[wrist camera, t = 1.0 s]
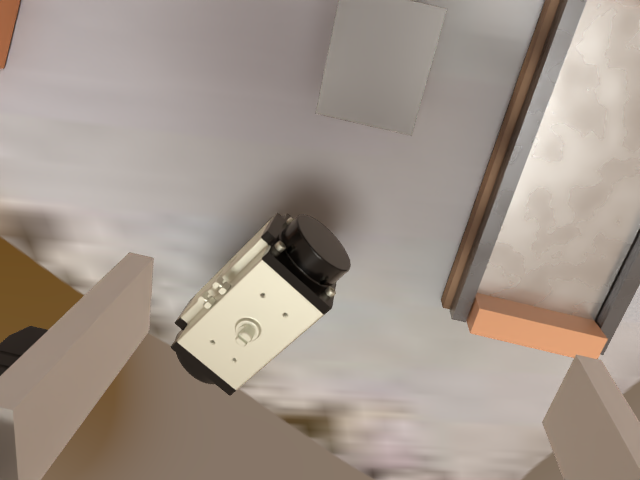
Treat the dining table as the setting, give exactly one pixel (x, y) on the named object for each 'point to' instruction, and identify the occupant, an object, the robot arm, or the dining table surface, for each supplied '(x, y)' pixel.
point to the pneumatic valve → (260, 301)
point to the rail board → (560, 190)
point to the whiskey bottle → (7, 26)
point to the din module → (379, 62)
